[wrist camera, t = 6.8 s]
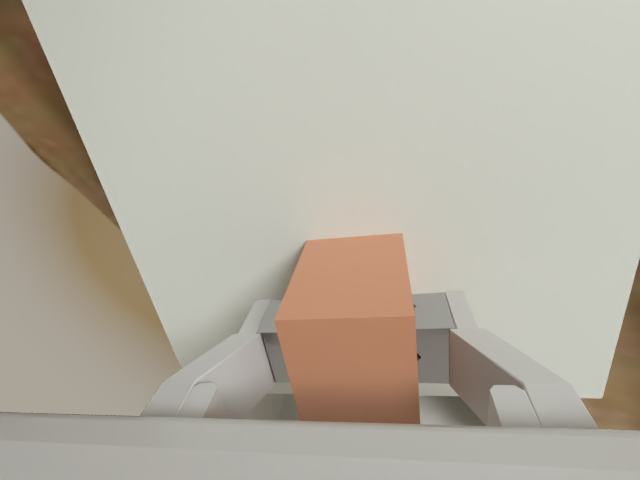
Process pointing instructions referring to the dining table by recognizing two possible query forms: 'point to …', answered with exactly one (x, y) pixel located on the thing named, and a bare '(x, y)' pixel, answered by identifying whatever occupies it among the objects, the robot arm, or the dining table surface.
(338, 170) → the lid
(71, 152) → the dining table surface
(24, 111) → the dining table surface
